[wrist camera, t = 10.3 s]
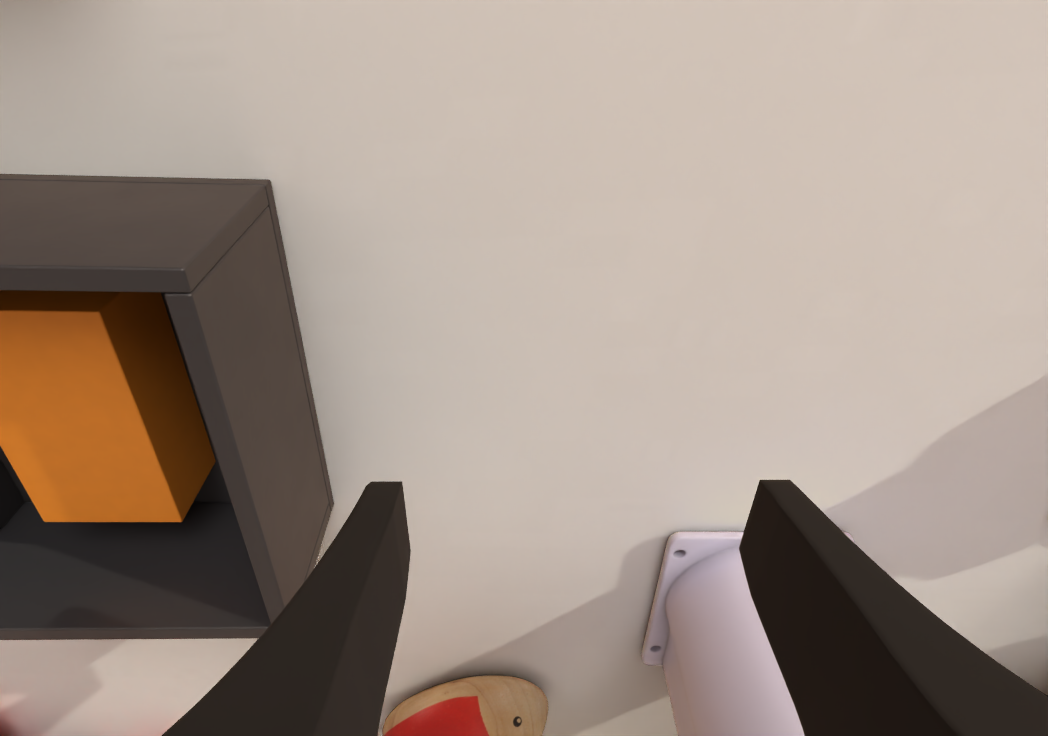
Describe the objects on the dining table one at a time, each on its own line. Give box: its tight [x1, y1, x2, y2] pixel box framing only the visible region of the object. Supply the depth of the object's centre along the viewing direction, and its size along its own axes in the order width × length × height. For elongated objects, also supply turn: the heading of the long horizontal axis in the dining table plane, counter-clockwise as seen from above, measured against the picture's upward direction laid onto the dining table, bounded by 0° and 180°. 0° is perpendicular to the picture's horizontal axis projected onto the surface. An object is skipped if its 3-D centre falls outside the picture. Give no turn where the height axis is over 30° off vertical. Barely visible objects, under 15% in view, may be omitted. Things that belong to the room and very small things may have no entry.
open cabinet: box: [0, 174, 334, 640], centre depth 19 cm, size 13×12×6 cm
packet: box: [0, 290, 216, 522], centre depth 20 cm, size 4×8×3 cm, turn 178°
